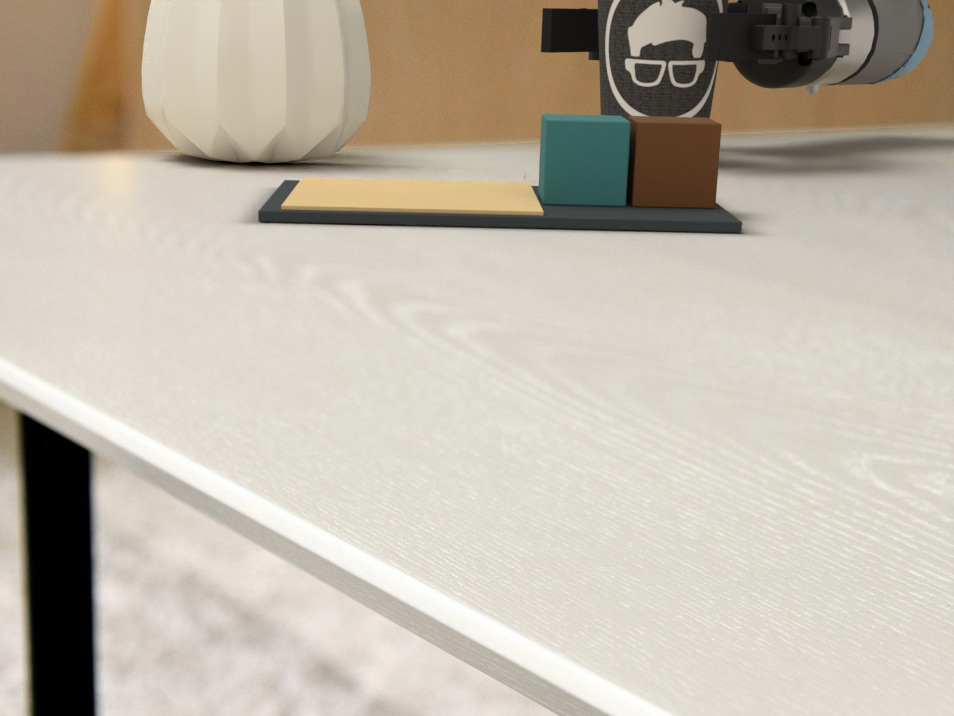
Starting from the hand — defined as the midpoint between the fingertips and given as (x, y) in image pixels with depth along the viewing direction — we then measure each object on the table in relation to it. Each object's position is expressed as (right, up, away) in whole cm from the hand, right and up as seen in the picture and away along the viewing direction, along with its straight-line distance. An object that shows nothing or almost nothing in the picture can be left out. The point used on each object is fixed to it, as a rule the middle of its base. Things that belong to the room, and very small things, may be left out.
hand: (627, 33), depth 100 cm
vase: (-23, -8, +2) cm, 24 cm away
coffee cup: (+2, -7, +5) cm, 9 cm away
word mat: (-9, -15, -20) cm, 26 cm away
